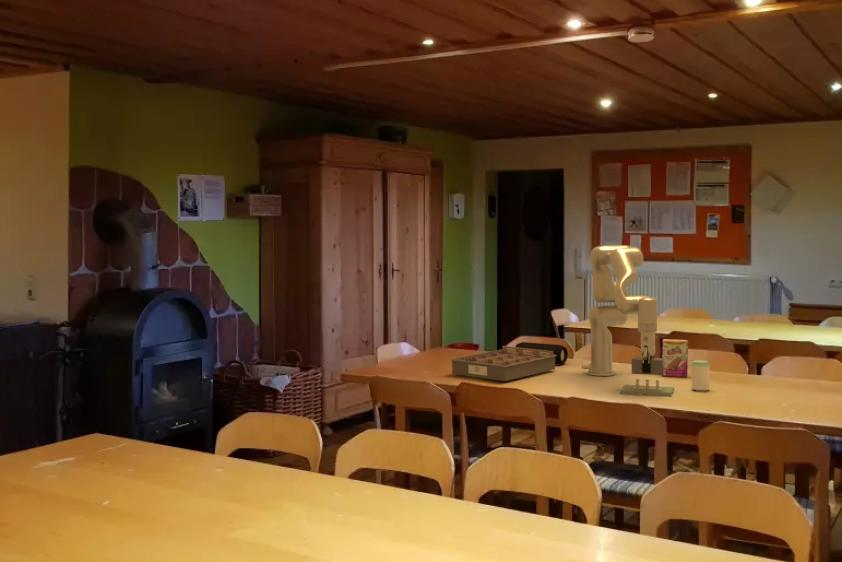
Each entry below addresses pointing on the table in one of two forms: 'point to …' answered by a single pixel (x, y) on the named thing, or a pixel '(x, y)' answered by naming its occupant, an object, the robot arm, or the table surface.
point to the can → (700, 375)
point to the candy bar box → (675, 357)
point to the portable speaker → (556, 349)
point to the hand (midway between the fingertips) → (647, 371)
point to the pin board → (647, 389)
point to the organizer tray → (505, 363)
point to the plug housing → (656, 366)
